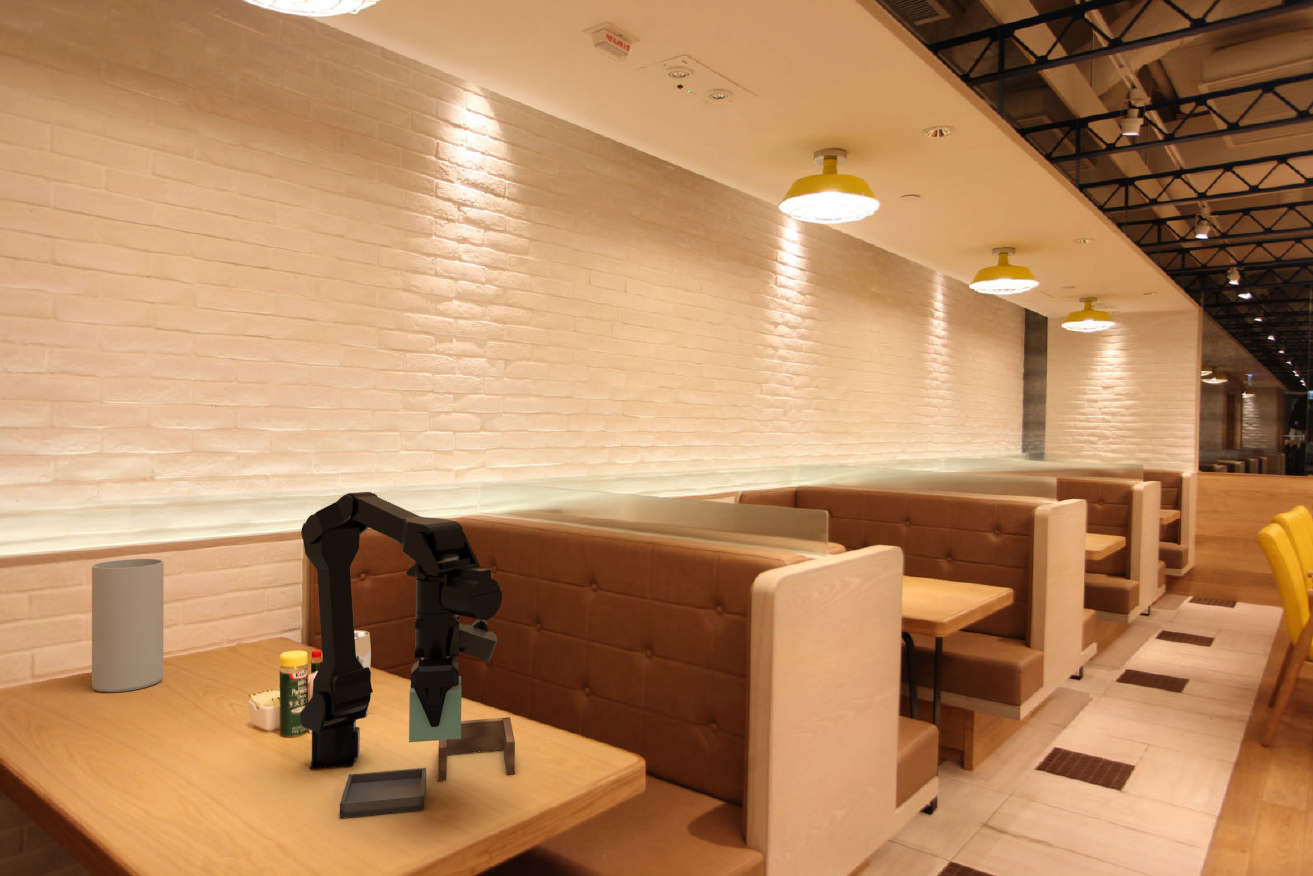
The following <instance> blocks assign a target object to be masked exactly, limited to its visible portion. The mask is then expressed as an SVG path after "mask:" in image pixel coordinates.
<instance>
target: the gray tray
mask: <svg viewBox="0 0 1313 876" xmlns="http://www.w3.org/2000/svg"><path fill="white" fill-rule="evenodd" d="M426 785H427V767H418V768H417V767H416V768H407V769H405V768H404V769H396V770H395V769H394V770H393V769H392V770H384V771H372V772H361V773H360V772H359V773H349V774H348V775H347V779H346V783H345V786H344V790H343V793H342V796H341V799H340V803H339V819H341V820H342V819H350V818H359V817H371V816H380V815H381V816H382V815H390V814H391V815H392V814H401V813H410V812H420V811H421V812H422V811H424V810H425V809H424V808H425V800H426V799H425V798H426V788H425V787H426Z"/></svg>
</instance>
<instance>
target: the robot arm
mask: <svg viewBox="0 0 1313 876" xmlns="http://www.w3.org/2000/svg"><path fill="white" fill-rule="evenodd" d="M368 529H372V530H373V531H375V532H377V533H380V534H382V535H383V536H386V537H388V538H389V539H392V540H394V541H395V542H398V544H400V545H401V550H402V552H403V553H404V554H405V555H406V556H407V557H408V558H410V560H412V561H413V562H415V563H414V564H413V565H412V566H410V568H409V569H407V571H406V575H407V576H409V577H414V578H415V580H416V581H415V582H416V583H415V584H416V585H415V619H414V629H415V639H414V640H415V642H414V643H415V644H414V659H415V661H414V664H413V665H412V666H411V670H410V686H411V688H413V689H414V690H415V692H416V694H417V696H418V698H419V700H420V703H421V705H422V707H423V709H424V712H425V714H426V716H427V719H428V721H429V723H430V726H431V727H438V726H439V724H440V719H441V715H442V710H443V706H444V701H445V697H446V693H447V691H448V690H450V689H451V688H452V687H455V686H457V685H459V676H460V666H459V665H460V664H459V663H458V657H460V653H462V654H465V655H468V656H471V657H475V658H478V659H480V661H483V662H490V661H491V659H492V656H493V654H494V650H495V648H496V645H497V643H498V638H497V635H496V634H495V633H494V631H489V629H488V626H489V625H488V622H487V621H488V620H490V619H492V618H493V617H494V616H495V615H496V614H497V613H498V611H499V609H500V608H501V604H502V599H503V592H502V591H501V587H500V585H499V583H498V581H496V580H495V579H494V578H492V570H491V569H489V568H480V563H479V561H478V559H477V555H476V554H475V553H474V551H473V549H472V546H471V544H470V542H469V540H468V538H467V537H466V534H465V532H464V531H463V529H464V528H463V526H462V525H461V523H459V522H458V521H457V520H452V519H445V518H440V517H427V516H420V515H418V514H416V513H414V512H411V511H409V510H407V509H405V508H403V507H400V506H398V505H396V504H395V503H392V502H390V501H388V500H385V499H384V498H381V497H379V496H378V495H377V494H376V493H375V492H374V493H373V492H371V491H360V492H359V491H358V492H348V493H346V494H344V495H342V496H341V497H339V498H338V499H337V501H335V502H333V503H330V504H329V505H327V506H325V507H323V508H320V509H319V510H317V511H316V512H314V513H313V514H311V515H309V516H308V517H307V519H306V520H305V522H304V523H303V524H302V526H301V538H302V542H303V548H304V553H305V556H306V557H307V558H308V559H309V561H310V562H311V564H312V565H313V567H314V569H316V573H317V588H318V603H319V604H318V606H319V618H320V619H319V620H320V621H319V622H320V638H321V639H320V640H321V652H322V653H321V654H322V660H321V661H322V662H321V664H320V666H319V668H318V670H317V671H316V674H315V676H314V678H313V681H312V696H311V697H310V700H308V702H307V703H306V704H305V706H304V707H303V709H302V710H301V711H300V712H299V717H300V722H301V726H302V728H305V729H307V730H310V731H311V762H310V764H309V766H308V767H309V768H308V769H309V770H321V769H323V770H324V769H334V768H346V767H352V766H354V765H355V761H356V760H357V759H358V757H359V754H360V752H361V751H360V749H361V748H360V746H361V745H360V740H361V739H360V738H361V737H360V736H361V735H360V732H361V731H360V730H361V729H360V727H359V726H357V720H360V719H364V718H366V716H367V715H366V713H367V709H368V710H369V708H368V707H369V704H370V703H371V698H372V693H373V691H374V690H373V687H372V680H371V679H372V672H371V668H370V669H369V668H368V667H366V668H364V667H363V666H362V664H361V663H360V662H359V660H358V659H357V657H356V648H355V632H354V630H355V619H354V606H353V605H354V602H353V589H352V588H353V587H352V572H351V571H352V570H351V566H352V564H353V562H354V560H355V558H356V556H357V555H358V552H359V550H360V548H361V547H360V546H361V545H360V543H361V535H362V534H364V533H365V532H366V531H367V530H368ZM460 617H465V618H469V619H474V620H475V621H474V622H473V623H472V624H471V625H470V624H469V623H467V624H463V623H460Z"/></svg>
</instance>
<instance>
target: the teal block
mask: <svg viewBox="0 0 1313 876" xmlns="http://www.w3.org/2000/svg"><path fill="white" fill-rule="evenodd" d="M462 691H463V689H462V676H461V675H459V685H457V686H455V687H452V688H451V689H450V690H448V691H447V693H446V697H445V701H444V706H443V710H442V715H441V719H440V724H439V726H438V727H431V726H430V723H429V721H428V719H427V716H426V714H425V712H424V709H423V707H422V705H421V703H420V700H419V698H418V696H417V694H416V692H415V690H414V689H413V688H411V685H410V687H409V700H408V701H409V704H408V705H409V709H408V710H409V711H408V712H409V714H408V715H409V717H408V727H409V728H408V729H409V730H408V742H409V743H418V742H422V743H423V742H432V741H433V742H434V741H436V742H437V741H439V740H449V739H461V721H462Z"/></svg>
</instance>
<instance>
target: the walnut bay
mask: <svg viewBox="0 0 1313 876" xmlns="http://www.w3.org/2000/svg"><path fill="white" fill-rule="evenodd" d="M437 749H438V750H437V751H438V752H437V753H438V755H437V756H438V757H437V758H438V759H437V761H438V763H437V766H438V768H437V769H438V771H437V773H438V776H437V777H438V782H443V781H448V780H447V779H448V778H447V777H448V776H447V774H448V773H447V771H448V769H447V768H448V756H450V755H449V754H454V755H463V753H465V754H473V752H477V753H483V752H482V751H489V752H499V751H500V750H501V751H502V752H504V753H503V758H504V765H506V766H505V771H506V775H507V774H509V775H515V774H516V765H515V763H516V762H515V761H516V756H515V755H516V740H515V735H514V729H513V725H512V720H511V717H510V716H507V717H496V718H482V719H469V720H468V719H467V720H461V739H449V740H438V748H437ZM479 751H480V752H479ZM501 751H500V752H501Z"/></svg>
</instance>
